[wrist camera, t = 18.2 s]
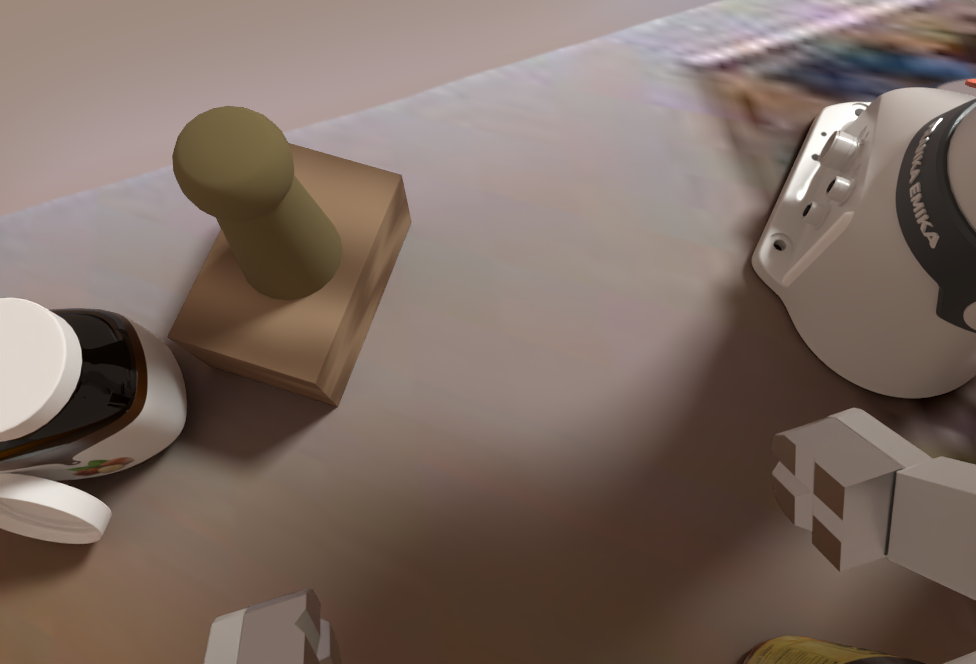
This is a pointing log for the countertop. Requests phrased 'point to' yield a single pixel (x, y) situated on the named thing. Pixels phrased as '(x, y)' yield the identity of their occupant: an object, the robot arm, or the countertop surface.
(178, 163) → the cork
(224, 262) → the wooden block
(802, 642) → the sauce bottle
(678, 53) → the countertop surface
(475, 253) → the countertop surface
